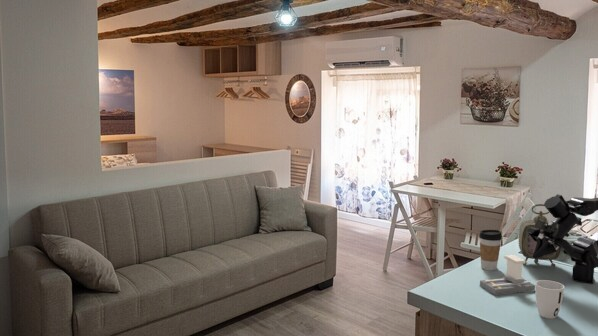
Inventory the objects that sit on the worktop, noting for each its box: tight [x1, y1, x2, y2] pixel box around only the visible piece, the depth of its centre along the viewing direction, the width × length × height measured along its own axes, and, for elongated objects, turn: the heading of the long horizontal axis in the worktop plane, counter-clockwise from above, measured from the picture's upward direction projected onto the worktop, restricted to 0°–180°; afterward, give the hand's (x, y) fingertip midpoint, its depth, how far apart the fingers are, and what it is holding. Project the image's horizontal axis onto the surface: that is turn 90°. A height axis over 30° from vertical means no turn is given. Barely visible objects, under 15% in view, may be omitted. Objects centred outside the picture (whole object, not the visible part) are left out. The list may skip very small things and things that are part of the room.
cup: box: [534, 279, 565, 319], centre depth 164 cm, size 8×8×10 cm
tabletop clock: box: [518, 203, 562, 268], centre depth 209 cm, size 14×9×25 cm, turn 77°
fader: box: [502, 254, 525, 283], centre depth 186 cm, size 4×7×8 cm, turn 14°
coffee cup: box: [478, 229, 503, 271], centre depth 207 cm, size 8×8×15 cm
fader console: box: [479, 276, 536, 296], centre depth 186 cm, size 16×9×3 cm, turn 104°
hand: (533, 258), depth 187 cm, fingers closed
